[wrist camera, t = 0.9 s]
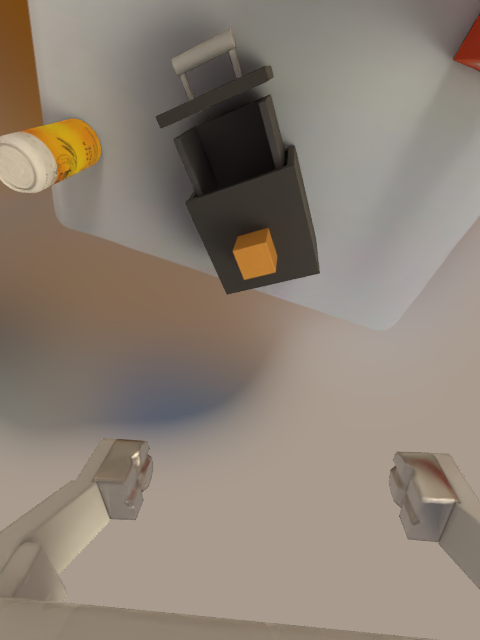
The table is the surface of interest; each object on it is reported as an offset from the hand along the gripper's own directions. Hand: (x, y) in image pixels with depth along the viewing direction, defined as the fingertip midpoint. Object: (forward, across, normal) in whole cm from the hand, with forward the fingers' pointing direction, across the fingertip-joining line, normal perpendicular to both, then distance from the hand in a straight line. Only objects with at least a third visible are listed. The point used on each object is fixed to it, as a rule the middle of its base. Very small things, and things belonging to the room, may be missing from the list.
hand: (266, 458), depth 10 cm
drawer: (+41, +5, -13) cm, 43 cm away
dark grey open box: (+44, +1, -2) cm, 44 cm away
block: (+34, +2, +1) cm, 34 cm away
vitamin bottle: (+44, +28, -12) cm, 53 cm away
